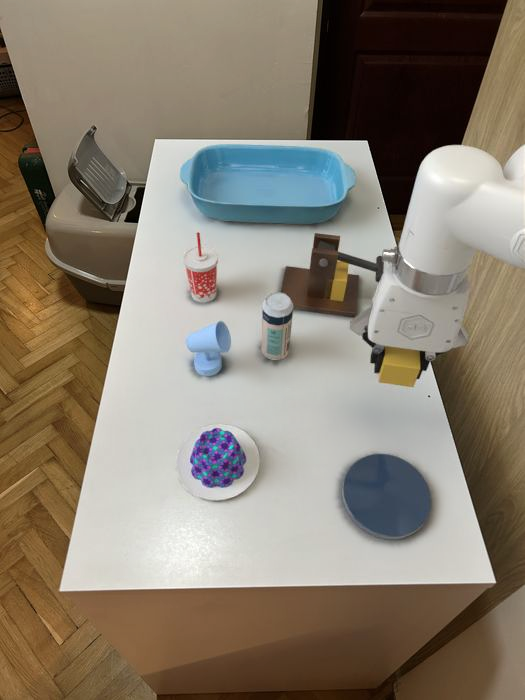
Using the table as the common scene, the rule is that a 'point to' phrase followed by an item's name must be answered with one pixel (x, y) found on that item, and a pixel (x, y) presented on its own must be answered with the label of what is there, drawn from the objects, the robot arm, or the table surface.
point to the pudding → (217, 462)
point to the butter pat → (400, 366)
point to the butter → (338, 282)
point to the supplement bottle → (276, 325)
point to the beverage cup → (201, 271)
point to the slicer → (320, 282)
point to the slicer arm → (357, 260)
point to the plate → (386, 496)
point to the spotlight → (209, 347)
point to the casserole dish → (267, 183)
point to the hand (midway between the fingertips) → (396, 366)
